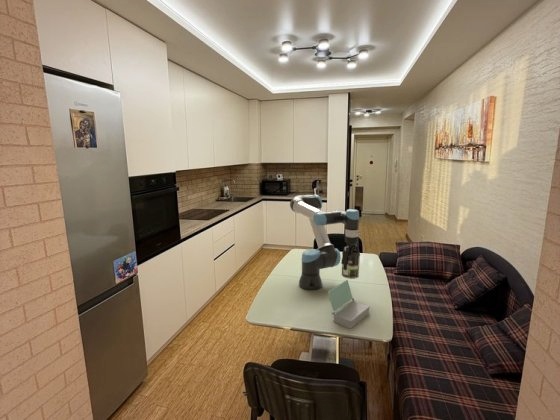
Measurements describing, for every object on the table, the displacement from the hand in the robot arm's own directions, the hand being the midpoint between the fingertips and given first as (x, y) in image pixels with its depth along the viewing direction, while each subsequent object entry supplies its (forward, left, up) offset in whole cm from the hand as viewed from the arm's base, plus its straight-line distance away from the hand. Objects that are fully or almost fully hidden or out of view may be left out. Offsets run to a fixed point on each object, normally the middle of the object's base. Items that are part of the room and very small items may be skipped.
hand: (350, 271), depth 181 cm
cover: (+6, -20, -5) cm, 22 cm away
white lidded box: (+13, -20, -16) cm, 28 cm away
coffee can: (0, 0, -2) cm, 3 cm away
